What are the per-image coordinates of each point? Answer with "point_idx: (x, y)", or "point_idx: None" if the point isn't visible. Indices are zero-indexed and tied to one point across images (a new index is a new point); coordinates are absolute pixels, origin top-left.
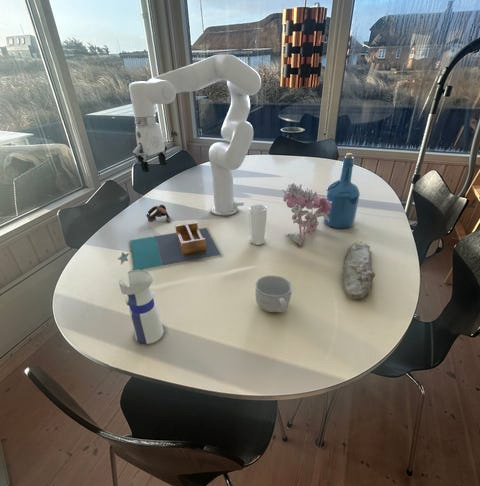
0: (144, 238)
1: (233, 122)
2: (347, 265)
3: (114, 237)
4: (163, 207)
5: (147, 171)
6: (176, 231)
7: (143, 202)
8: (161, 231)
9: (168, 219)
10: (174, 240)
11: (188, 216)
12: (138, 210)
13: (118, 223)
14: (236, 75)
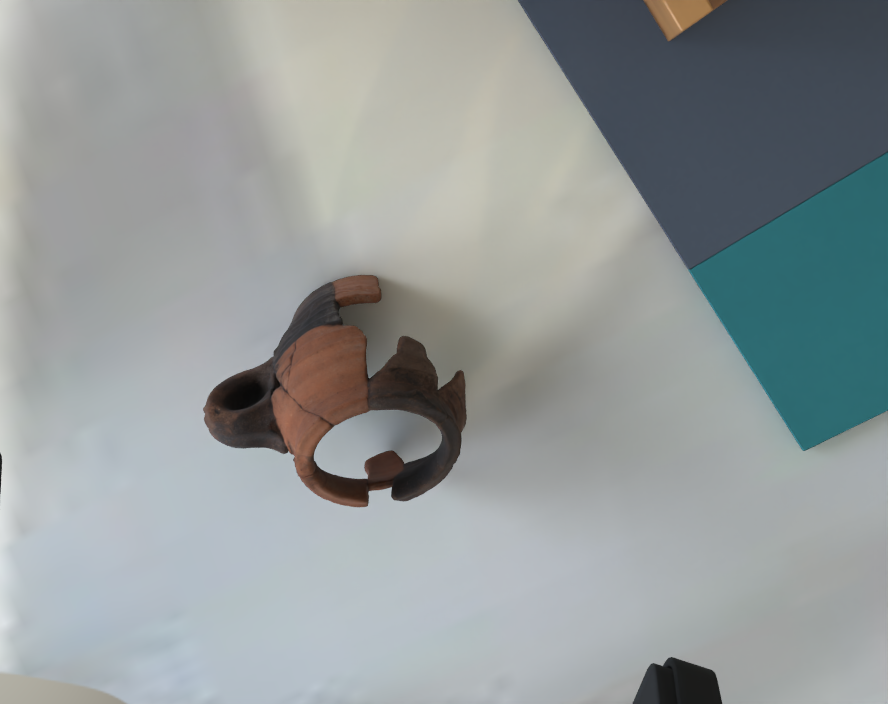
0: (749, 350)
1: None
2: None
3: (745, 610)
4: (228, 404)
5: (704, 700)
6: (723, 2)
7: (93, 655)
8: (556, 269)
9: (364, 286)
10: (745, 32)
11: (194, 150)
12: (237, 633)
13: (498, 682)
14: None
